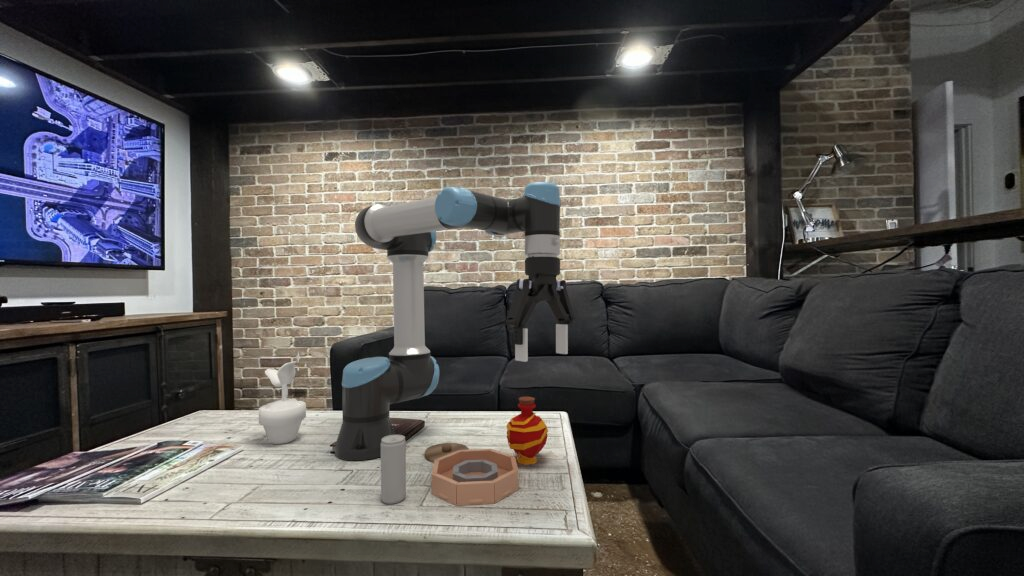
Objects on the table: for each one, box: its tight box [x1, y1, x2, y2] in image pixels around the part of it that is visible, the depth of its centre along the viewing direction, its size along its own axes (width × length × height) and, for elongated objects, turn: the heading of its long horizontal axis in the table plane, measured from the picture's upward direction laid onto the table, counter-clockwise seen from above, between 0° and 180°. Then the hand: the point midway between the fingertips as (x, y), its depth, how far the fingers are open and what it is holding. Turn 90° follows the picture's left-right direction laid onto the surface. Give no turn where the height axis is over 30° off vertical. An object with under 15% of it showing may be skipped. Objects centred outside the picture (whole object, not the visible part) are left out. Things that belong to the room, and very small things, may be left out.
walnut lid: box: [424, 442, 470, 464], centre depth 105 cm, size 11×11×3 cm
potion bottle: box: [506, 396, 549, 466], centre depth 102 cm, size 10×10×15 cm
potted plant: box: [258, 351, 308, 445], centre depth 116 cm, size 13×12×25 cm
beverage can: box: [380, 434, 407, 505], centre depth 83 cm, size 5×5×12 cm
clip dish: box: [431, 448, 519, 506], centre depth 89 cm, size 18×18×4 cm
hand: (542, 357), depth 88 cm, fingers open, 13 cm apart
